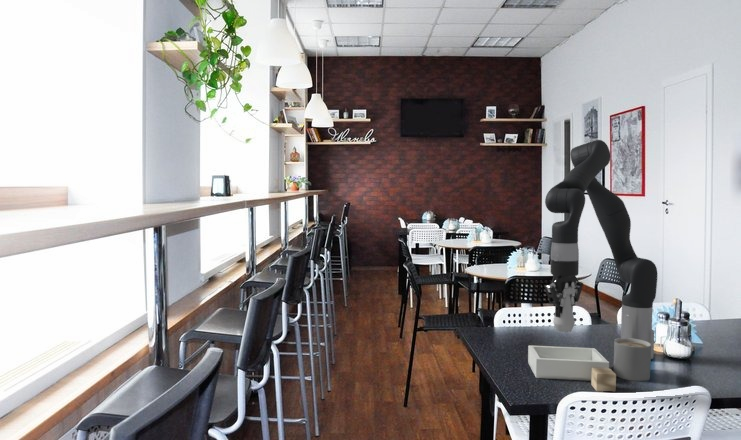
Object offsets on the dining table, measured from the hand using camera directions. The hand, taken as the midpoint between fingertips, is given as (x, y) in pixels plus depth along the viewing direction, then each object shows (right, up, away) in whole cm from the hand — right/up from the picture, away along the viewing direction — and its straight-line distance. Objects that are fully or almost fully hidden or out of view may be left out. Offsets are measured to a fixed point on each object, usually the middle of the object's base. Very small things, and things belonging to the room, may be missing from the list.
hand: (563, 317), depth 152 cm
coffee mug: (+24, -19, +8) cm, 32 cm away
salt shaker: (0, -4, 0) cm, 4 cm away
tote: (+4, -18, +10) cm, 21 cm away
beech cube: (+9, -19, -4) cm, 22 cm away
